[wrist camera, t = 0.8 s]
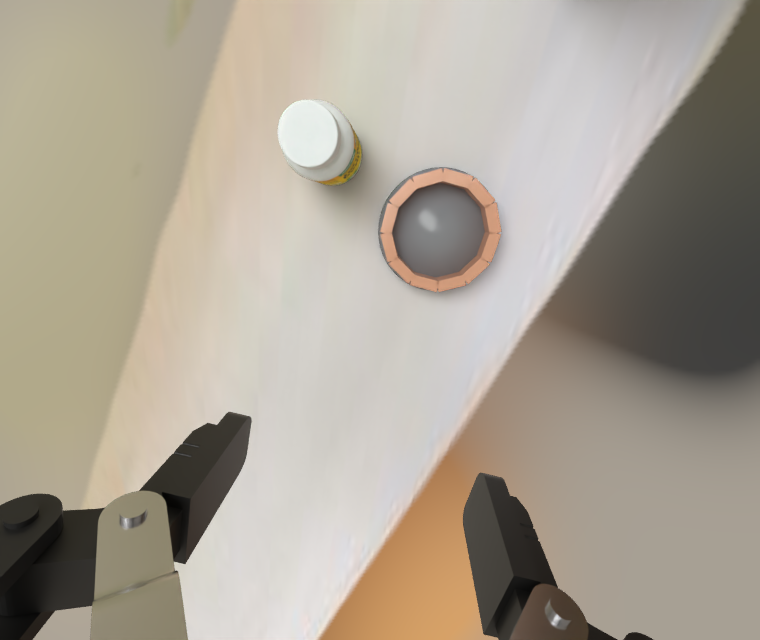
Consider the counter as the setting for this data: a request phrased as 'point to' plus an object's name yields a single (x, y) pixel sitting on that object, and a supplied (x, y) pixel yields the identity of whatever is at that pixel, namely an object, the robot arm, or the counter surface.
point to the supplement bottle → (319, 142)
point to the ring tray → (439, 229)
